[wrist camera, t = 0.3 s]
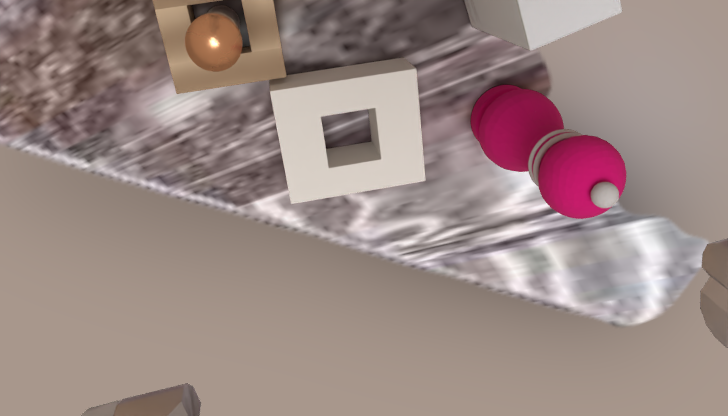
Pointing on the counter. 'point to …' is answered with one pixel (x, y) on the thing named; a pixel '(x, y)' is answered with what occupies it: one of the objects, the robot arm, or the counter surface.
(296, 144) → the dock
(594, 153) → the pepper mill
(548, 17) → the supplement box
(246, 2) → the mount
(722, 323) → the robot arm
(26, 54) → the counter surface
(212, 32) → the pin
